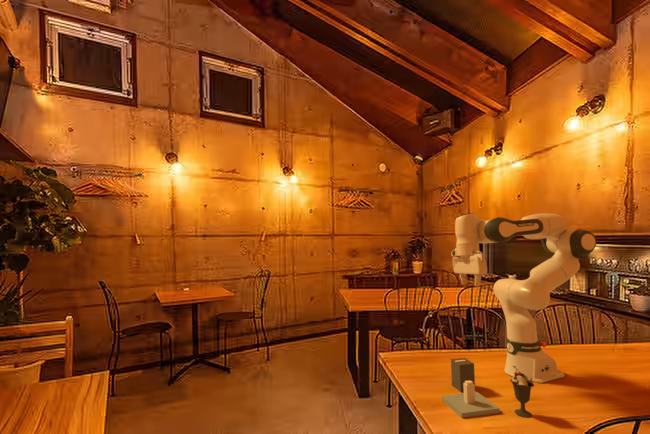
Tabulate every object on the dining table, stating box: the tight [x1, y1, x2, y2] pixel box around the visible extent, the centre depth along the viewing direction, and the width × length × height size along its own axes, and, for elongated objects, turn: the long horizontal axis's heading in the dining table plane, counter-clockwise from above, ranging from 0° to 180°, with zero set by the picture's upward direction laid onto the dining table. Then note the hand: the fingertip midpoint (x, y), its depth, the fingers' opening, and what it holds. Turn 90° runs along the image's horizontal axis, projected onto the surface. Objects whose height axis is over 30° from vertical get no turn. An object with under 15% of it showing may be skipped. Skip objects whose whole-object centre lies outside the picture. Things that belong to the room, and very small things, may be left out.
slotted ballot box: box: [450, 357, 476, 393], centre depth 129 cm, size 6×6×10 cm
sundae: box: [509, 366, 535, 419], centre depth 110 cm, size 7×7×15 cm
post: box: [441, 380, 501, 419], centre depth 115 cm, size 14×12×8 cm
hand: (470, 285), depth 138 cm, fingers open, 8 cm apart
